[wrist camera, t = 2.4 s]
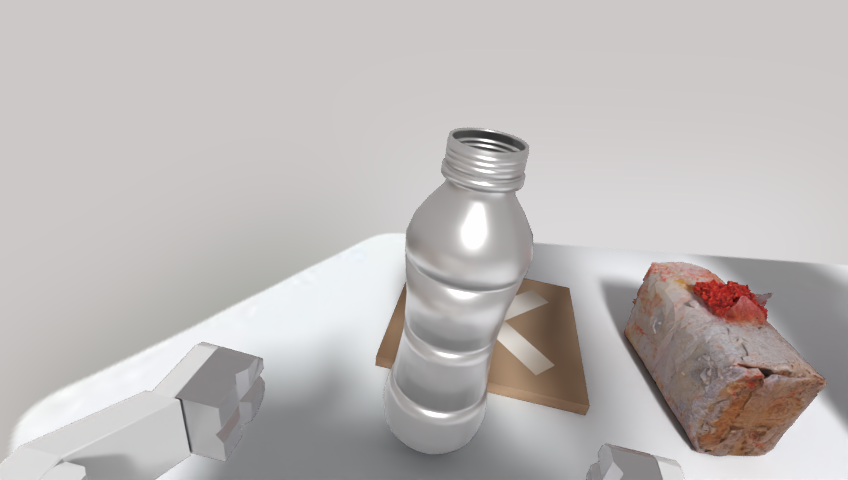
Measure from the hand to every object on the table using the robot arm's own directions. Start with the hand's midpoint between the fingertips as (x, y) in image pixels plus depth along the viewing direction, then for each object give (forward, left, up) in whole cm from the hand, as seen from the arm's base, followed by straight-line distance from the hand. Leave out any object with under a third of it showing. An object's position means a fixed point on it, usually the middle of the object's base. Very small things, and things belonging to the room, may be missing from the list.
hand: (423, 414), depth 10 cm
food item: (-20, -23, -17) cm, 35 cm away
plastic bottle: (0, -13, -17) cm, 21 cm away
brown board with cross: (-3, -24, -17) cm, 30 cm away
